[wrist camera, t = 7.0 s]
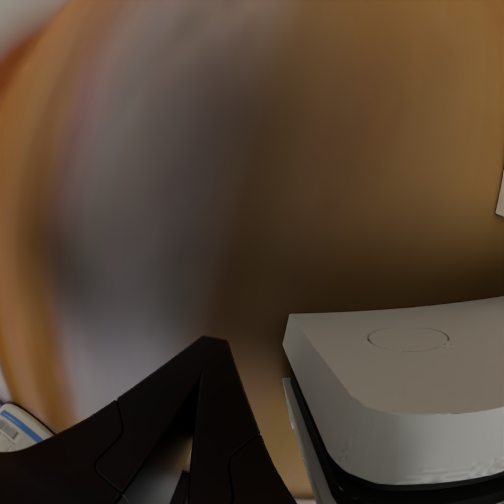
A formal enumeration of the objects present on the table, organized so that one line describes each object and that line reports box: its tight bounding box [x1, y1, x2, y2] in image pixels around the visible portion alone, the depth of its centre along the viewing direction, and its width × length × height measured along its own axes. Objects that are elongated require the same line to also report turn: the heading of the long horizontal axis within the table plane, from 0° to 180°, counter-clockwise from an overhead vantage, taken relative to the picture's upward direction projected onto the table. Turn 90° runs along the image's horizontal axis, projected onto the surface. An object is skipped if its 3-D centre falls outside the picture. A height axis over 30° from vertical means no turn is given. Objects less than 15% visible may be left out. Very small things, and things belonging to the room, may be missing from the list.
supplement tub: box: [0, 404, 54, 452], centre depth 11 cm, size 10×10×15 cm
